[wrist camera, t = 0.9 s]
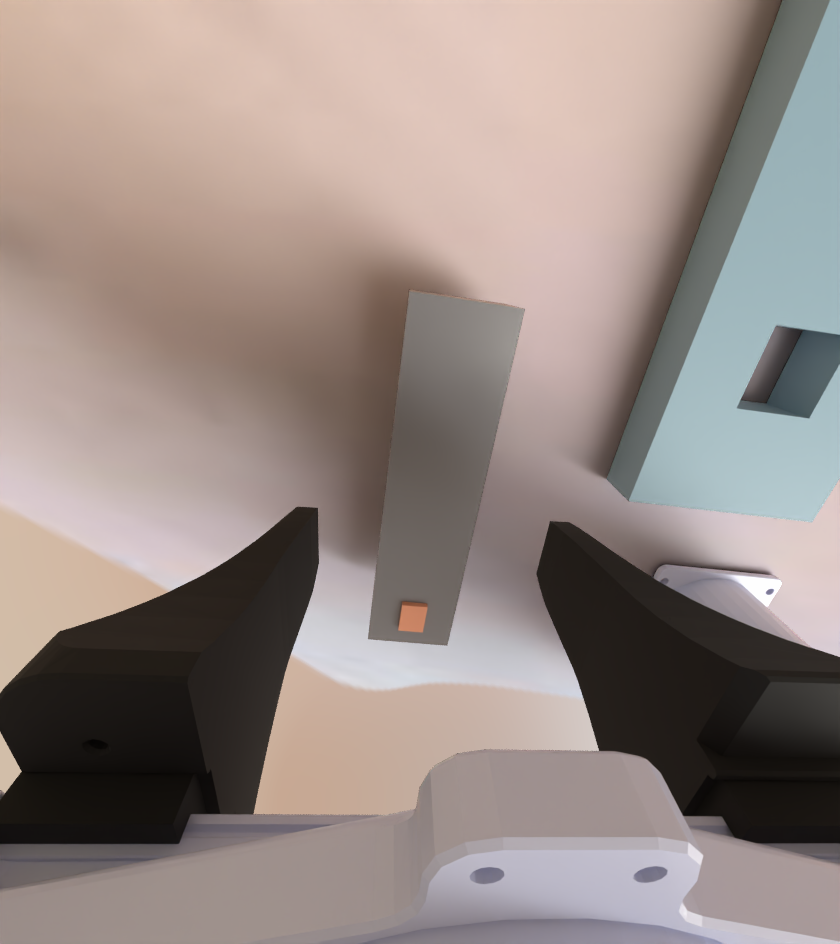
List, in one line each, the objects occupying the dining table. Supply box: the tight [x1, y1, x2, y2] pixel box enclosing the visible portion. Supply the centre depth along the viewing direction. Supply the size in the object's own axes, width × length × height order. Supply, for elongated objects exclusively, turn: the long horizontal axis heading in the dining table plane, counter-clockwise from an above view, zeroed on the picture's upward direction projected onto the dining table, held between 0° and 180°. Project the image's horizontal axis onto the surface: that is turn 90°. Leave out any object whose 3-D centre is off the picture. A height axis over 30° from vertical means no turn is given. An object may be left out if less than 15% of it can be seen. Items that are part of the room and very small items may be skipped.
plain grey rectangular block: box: [368, 289, 525, 645], centre depth 20 cm, size 16×4×5 cm, turn 172°
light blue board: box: [607, 0, 840, 522], centre depth 17 cm, size 24×10×2 cm, turn 172°
